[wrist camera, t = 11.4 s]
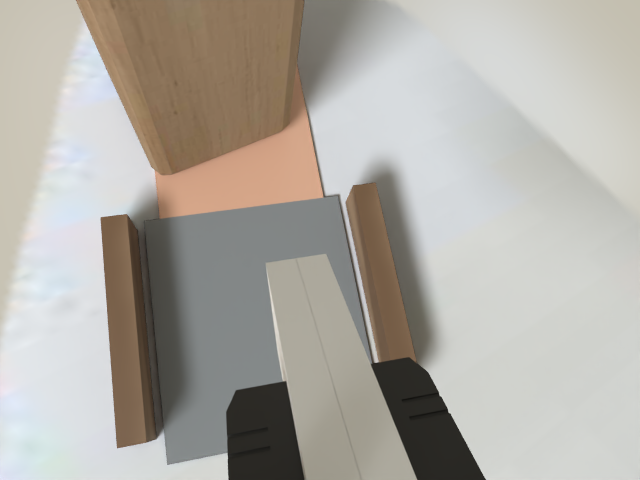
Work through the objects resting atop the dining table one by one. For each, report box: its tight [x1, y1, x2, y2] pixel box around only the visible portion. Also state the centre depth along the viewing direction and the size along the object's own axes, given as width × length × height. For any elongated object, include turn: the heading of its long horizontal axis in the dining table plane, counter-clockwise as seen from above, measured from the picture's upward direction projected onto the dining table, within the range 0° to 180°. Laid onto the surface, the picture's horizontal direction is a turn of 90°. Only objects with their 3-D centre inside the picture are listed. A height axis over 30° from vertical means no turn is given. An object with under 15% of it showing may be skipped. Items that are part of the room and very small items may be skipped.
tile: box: [155, 65, 324, 219], centre depth 37 cm, size 11×12×1 cm
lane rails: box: [101, 183, 417, 448], centre depth 32 cm, size 17×13×3 cm
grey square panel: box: [144, 196, 372, 465], centre depth 33 cm, size 13×15×1 cm
